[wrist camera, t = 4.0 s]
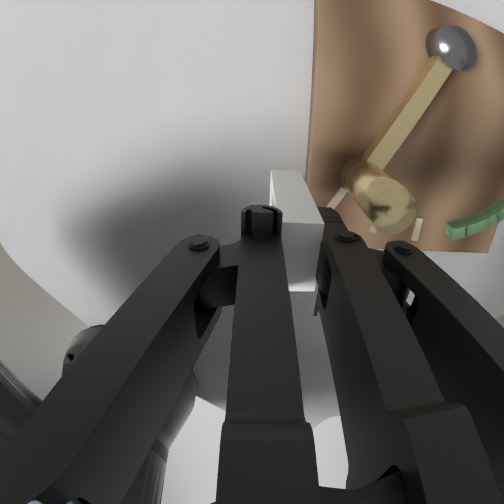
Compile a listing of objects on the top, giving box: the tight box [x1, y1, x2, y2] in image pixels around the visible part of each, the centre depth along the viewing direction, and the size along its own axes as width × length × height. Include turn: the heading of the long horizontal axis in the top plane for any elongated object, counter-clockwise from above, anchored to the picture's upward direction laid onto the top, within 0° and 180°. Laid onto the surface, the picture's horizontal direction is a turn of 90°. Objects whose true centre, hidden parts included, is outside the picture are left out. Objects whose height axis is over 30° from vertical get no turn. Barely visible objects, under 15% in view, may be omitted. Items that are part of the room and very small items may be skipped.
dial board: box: [305, 0, 504, 253], centre depth 17 cm, size 17×18×3 cm
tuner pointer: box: [340, 25, 477, 235], centre depth 14 cm, size 14×3×6 cm, turn 149°
